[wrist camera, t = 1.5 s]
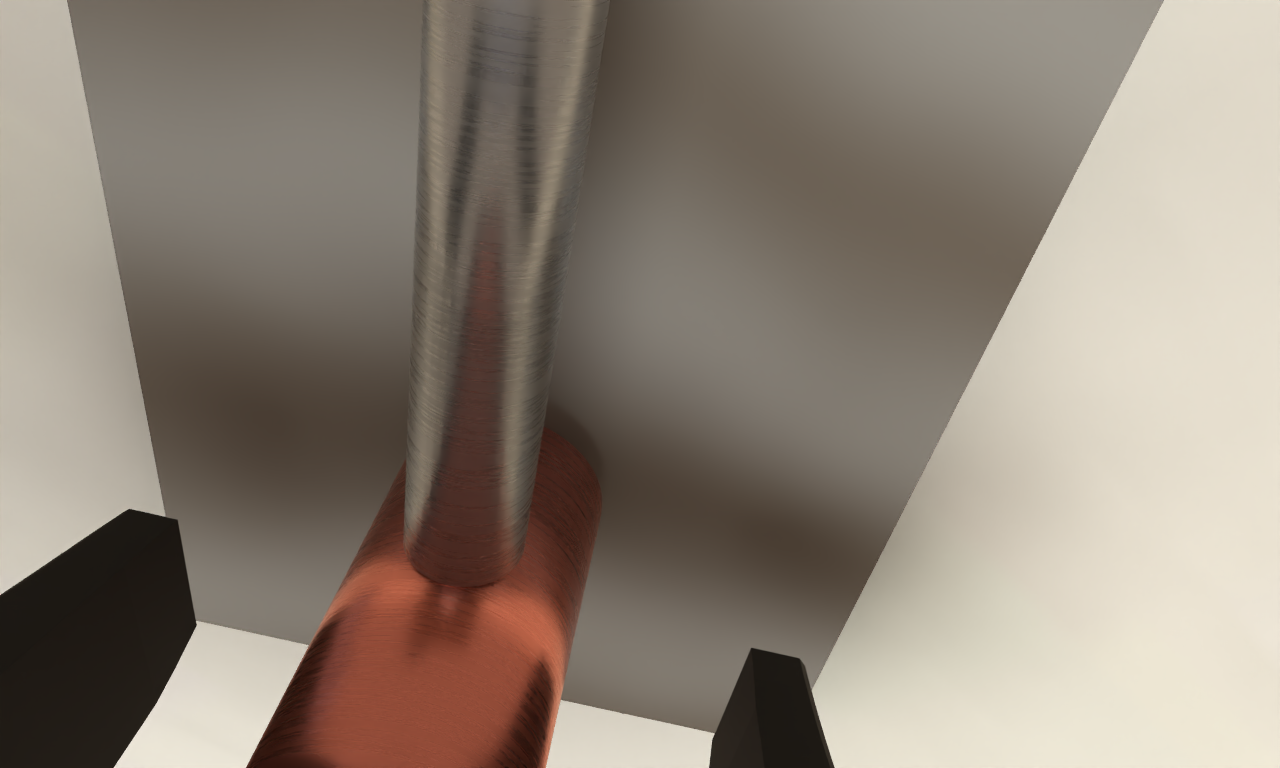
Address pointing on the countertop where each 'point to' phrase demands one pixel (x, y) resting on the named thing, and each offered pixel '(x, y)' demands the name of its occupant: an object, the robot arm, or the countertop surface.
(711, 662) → the eye block
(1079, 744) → the countertop surface
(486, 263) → the copper head mallet
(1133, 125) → the countertop surface
